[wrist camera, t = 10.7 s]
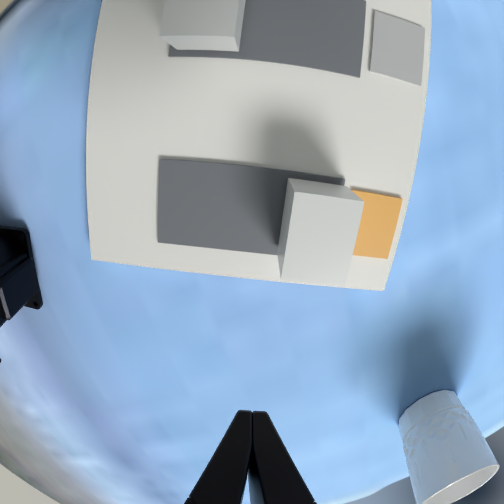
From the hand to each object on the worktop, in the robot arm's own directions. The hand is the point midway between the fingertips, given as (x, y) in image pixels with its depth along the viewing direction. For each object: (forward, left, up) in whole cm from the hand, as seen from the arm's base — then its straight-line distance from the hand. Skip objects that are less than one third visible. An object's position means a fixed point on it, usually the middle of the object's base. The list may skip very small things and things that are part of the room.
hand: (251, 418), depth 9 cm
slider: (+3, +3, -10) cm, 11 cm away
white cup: (+19, -15, -12) cm, 27 cm away
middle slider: (-3, +13, -10) cm, 17 cm away
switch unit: (-1, +13, -11) cm, 17 cm away
